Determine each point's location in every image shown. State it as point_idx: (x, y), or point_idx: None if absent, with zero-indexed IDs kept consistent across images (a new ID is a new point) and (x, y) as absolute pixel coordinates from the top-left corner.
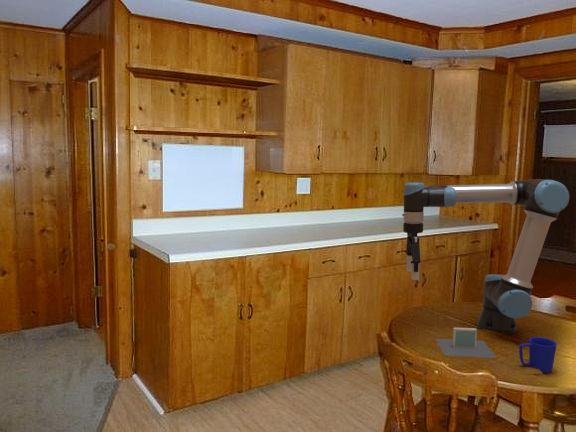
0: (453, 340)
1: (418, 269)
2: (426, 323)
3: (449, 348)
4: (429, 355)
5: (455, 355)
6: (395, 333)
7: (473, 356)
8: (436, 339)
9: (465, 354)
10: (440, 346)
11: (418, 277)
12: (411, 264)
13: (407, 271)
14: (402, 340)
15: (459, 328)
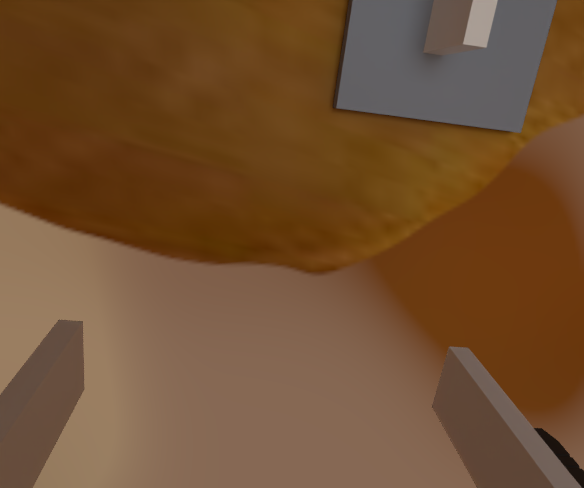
0: (446, 51)
1: (530, 436)
2: (56, 62)
3: (454, 82)
4: (464, 179)
5: (529, 84)
6: (221, 258)
7: (553, 1)
8: (346, 106)
9: (526, 31)
10: (428, 117)
11: (478, 369)
12: (45, 401)
13: (82, 382)
14: (304, 247)
15: (483, 12)
